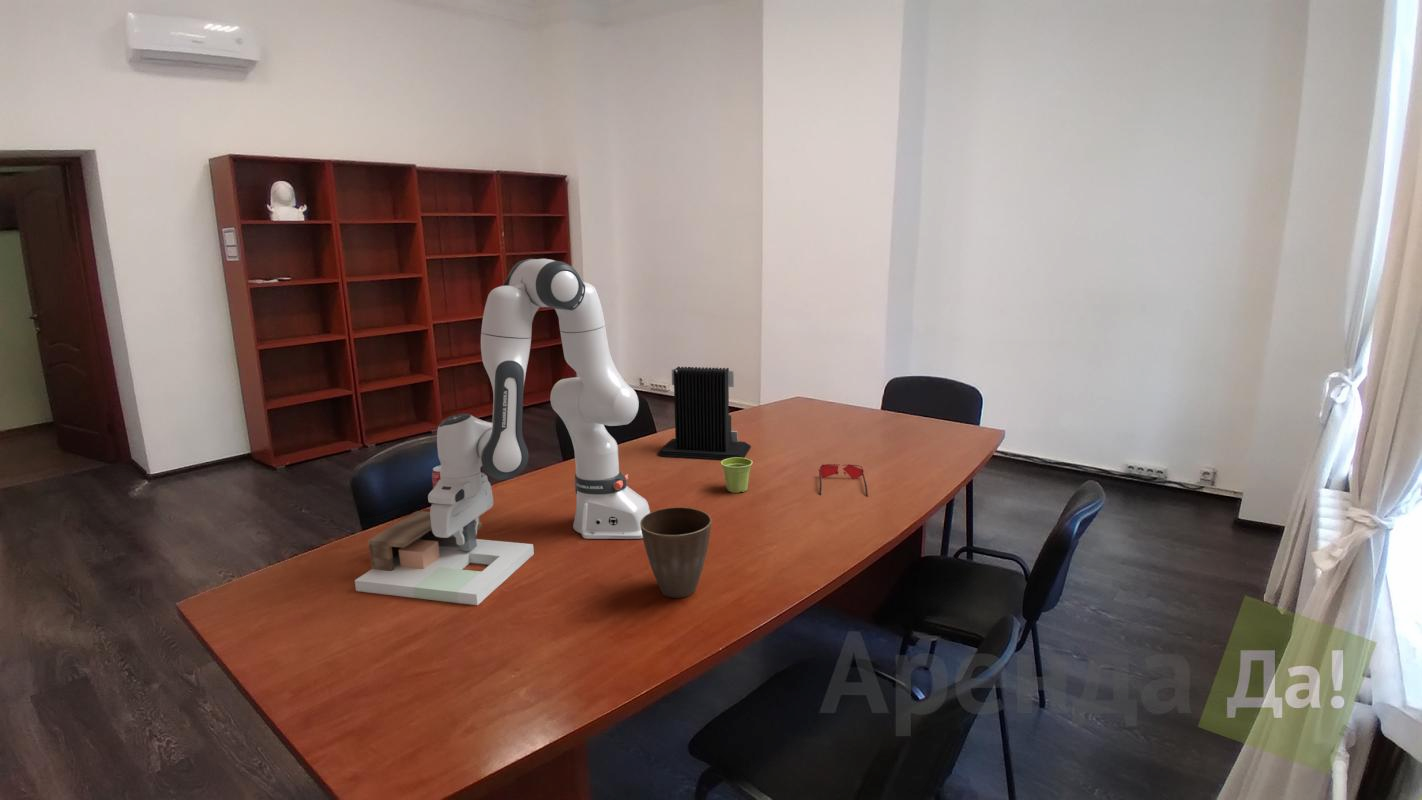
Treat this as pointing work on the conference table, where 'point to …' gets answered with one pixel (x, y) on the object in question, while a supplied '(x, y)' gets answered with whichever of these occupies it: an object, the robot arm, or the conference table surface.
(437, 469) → the soda can
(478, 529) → the brass bar
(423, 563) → the terracotta block
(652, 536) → the plant pot
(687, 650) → the conference table surface
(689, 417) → the black finned heatsink
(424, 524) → the stand
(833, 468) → the glasses
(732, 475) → the plant pot
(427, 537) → the grey l-shaped bracket
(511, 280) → the robot arm
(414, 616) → the conference table surface
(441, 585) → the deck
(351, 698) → the conference table surface
